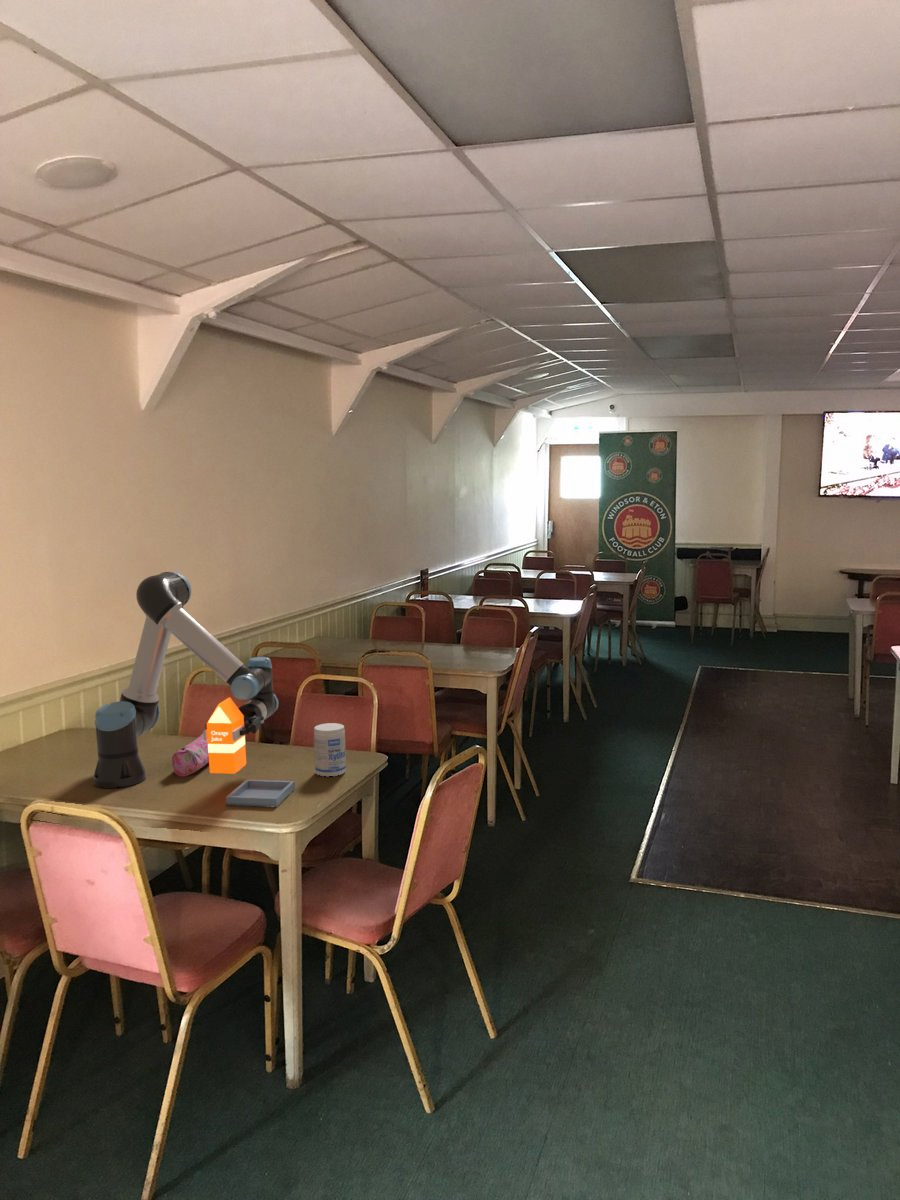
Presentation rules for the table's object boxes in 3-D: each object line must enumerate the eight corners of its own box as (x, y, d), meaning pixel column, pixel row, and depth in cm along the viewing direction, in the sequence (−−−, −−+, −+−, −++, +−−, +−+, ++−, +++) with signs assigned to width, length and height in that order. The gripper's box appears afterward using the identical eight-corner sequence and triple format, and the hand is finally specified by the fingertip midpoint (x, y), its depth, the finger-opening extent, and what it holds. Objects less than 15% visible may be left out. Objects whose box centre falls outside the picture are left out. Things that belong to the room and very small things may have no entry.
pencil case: (196, 778, 284) (195, 749, 283) (169, 777, 286) (167, 749, 284) (224, 757, 305) (222, 730, 304) (198, 756, 306) (196, 729, 305)
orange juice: (209, 773, 261) (204, 704, 258) (221, 763, 269) (217, 696, 267) (235, 773, 259) (231, 704, 257) (247, 764, 268) (243, 697, 265)
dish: (226, 805, 259) (225, 796, 259) (246, 787, 274) (246, 779, 273) (277, 807, 256) (276, 798, 256) (295, 789, 271) (294, 781, 271)
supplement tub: (333, 779, 279) (331, 732, 277) (309, 775, 284) (306, 728, 282) (352, 770, 287) (350, 724, 285) (328, 766, 292) (326, 721, 290)
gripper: (283, 727, 279) (255, 749, 257) (219, 726, 283) (185, 748, 261) (282, 703, 278) (253, 723, 256) (217, 702, 282) (183, 722, 260)
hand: (219, 735), depth 258 cm, fingers closed on orange juice, 8 cm apart
